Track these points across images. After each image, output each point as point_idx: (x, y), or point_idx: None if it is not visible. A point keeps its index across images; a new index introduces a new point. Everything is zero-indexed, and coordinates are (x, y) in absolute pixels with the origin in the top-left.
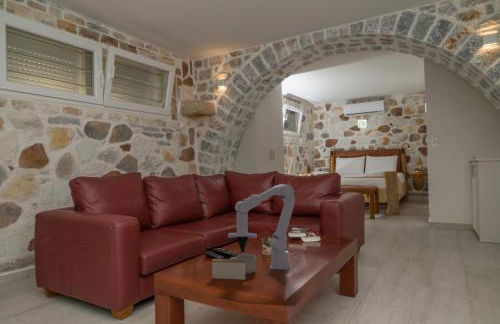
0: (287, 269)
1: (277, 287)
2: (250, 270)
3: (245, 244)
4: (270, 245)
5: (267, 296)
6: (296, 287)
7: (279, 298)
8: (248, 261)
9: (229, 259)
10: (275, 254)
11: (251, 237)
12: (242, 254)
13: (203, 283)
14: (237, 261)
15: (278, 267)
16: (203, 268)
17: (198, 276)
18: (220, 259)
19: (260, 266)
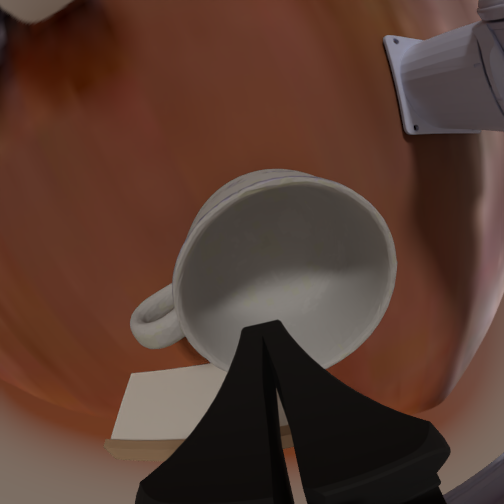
0: (477, 132)
1: (441, 355)
2: (327, 298)
3: (323, 379)
4: (490, 19)
5: (407, 414)
6: (487, 325)
7: (434, 405)
8: (341, 356)
9: (133, 333)
10: (501, 128)
11: (494, 467)
12: (209, 223)
13: None
14: (286, 446)
15: (449, 128)
16: (3, 269)
17: (70, 374)
18: (151, 450)
19: (321, 81)
